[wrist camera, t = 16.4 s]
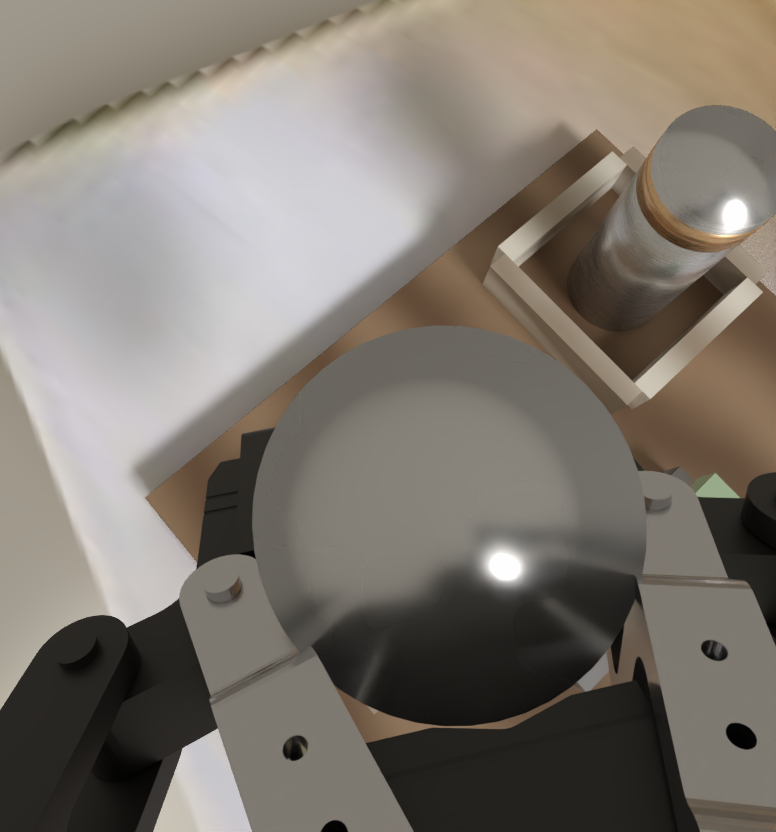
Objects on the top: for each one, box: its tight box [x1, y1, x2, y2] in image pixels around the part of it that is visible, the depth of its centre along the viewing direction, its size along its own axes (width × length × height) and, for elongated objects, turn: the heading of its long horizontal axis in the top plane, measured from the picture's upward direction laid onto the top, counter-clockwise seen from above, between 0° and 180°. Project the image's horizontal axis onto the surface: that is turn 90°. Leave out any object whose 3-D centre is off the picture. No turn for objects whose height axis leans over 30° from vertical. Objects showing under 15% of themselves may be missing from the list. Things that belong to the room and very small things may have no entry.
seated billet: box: [567, 105, 776, 332], centre depth 26 cm, size 5×5×10 cm
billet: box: [252, 326, 647, 726], centre depth 12 cm, size 5×5×10 cm
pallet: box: [145, 130, 776, 743], centre depth 29 cm, size 30×20×4 cm, turn 132°
